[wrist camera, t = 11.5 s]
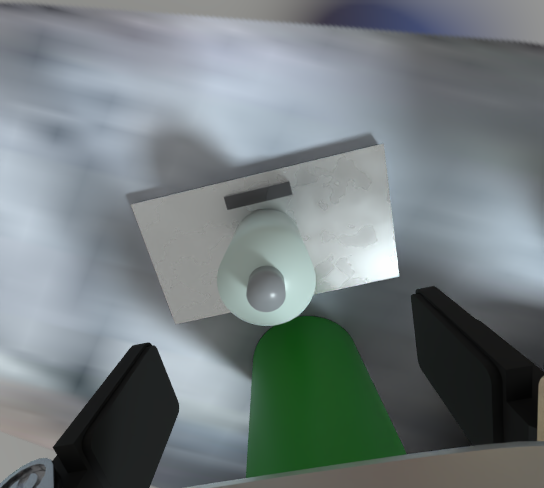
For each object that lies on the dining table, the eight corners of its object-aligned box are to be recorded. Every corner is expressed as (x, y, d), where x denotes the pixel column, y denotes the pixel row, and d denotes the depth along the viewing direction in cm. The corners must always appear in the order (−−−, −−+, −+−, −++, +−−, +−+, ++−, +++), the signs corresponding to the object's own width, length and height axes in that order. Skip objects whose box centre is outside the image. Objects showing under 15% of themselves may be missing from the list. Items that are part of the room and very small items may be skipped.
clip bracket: (378, 144, 23) (390, 142, 21) (394, 272, 26) (405, 282, 24) (136, 202, 24) (123, 207, 22) (178, 318, 27) (171, 332, 25)
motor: (311, 413, 30) (385, 858, 11) (235, 378, 29) (166, 815, 10) (367, 338, 28) (587, 746, 8) (285, 297, 26) (329, 668, 7)
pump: (293, 202, 23) (308, 231, 14) (307, 265, 24) (328, 329, 15) (226, 217, 23) (197, 256, 14) (243, 279, 25) (228, 350, 16)
